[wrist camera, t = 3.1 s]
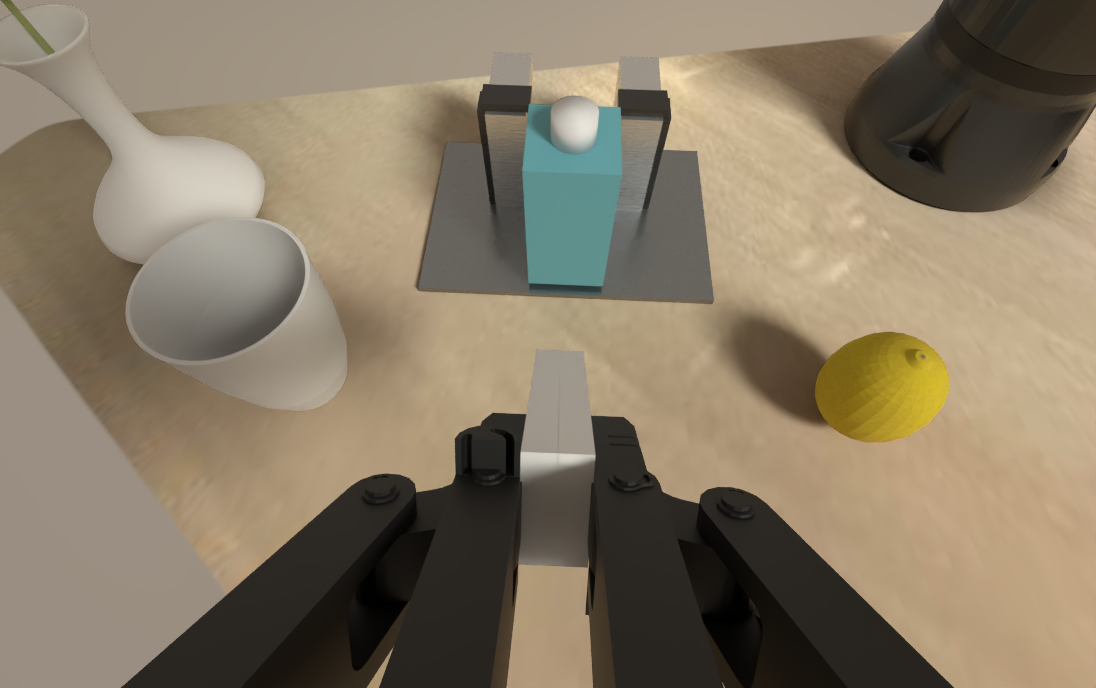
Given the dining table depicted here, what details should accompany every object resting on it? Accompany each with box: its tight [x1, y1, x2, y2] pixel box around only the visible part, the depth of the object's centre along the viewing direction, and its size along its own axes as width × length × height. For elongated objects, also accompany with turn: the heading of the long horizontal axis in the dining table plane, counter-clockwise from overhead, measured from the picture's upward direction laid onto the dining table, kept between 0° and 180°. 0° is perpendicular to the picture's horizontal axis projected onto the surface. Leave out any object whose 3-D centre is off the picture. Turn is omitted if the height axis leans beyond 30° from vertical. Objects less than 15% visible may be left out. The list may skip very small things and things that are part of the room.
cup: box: [125, 217, 348, 411], centre depth 28 cm, size 8×8×10 cm
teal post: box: [522, 96, 622, 286], centre depth 31 cm, size 5×5×12 cm
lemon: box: [815, 332, 949, 442], centre depth 28 cm, size 6×6×8 cm
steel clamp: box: [418, 52, 714, 304], centre depth 35 cm, size 20×14×9 cm
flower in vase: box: [0, 0, 265, 265], centre depth 28 cm, size 13×11×25 cm
